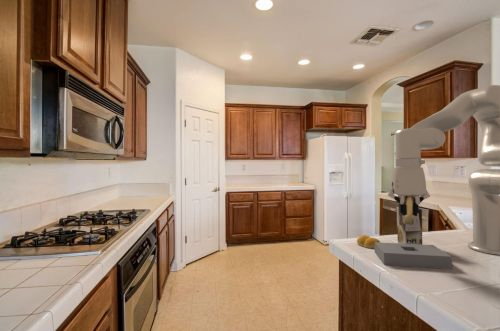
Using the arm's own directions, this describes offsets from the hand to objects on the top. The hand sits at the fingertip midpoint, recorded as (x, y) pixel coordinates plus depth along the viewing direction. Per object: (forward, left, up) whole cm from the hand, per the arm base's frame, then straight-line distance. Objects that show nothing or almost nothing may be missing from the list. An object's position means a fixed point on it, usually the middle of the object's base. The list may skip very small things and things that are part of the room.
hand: (408, 214), depth 88 cm
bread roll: (+10, -15, -17) cm, 25 cm away
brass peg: (0, 0, -3) cm, 3 cm away
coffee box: (-6, -17, -16) cm, 24 cm away
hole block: (0, 0, -16) cm, 16 cm away
